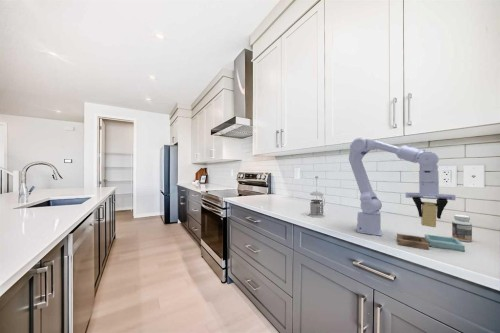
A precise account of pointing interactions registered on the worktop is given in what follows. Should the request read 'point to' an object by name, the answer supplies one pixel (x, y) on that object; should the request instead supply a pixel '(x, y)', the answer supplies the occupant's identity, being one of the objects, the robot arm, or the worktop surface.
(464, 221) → the pill bottle
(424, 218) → the brass pin
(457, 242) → the tray
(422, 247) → the holder block
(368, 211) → the robot arm
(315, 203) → the french press
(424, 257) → the worktop surface
